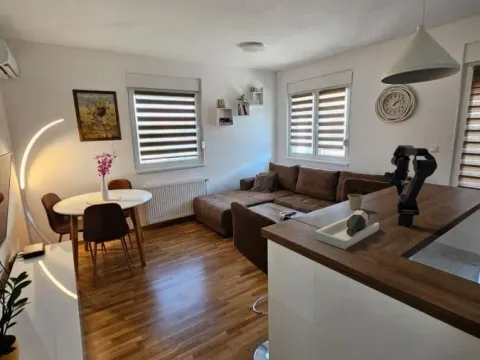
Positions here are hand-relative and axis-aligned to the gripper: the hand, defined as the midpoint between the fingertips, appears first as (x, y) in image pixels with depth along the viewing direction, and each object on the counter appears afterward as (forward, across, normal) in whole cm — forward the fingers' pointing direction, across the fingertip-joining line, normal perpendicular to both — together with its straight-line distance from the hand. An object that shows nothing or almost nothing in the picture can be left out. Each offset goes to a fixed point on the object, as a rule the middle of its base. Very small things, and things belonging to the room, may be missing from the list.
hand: (399, 195), depth 151 cm
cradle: (+13, +45, -6) cm, 47 cm away
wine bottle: (+8, +27, -8) cm, 29 cm away
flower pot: (+13, +2, -24) cm, 27 cm away
